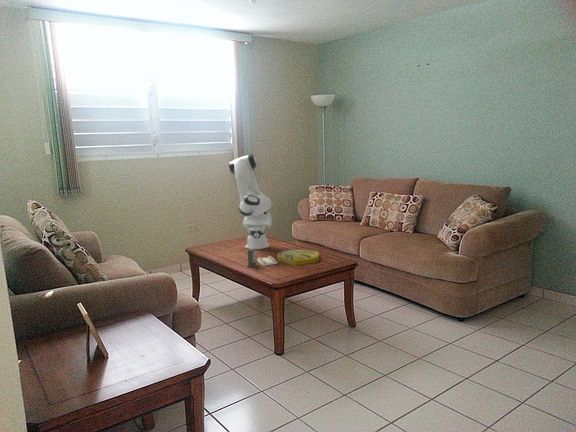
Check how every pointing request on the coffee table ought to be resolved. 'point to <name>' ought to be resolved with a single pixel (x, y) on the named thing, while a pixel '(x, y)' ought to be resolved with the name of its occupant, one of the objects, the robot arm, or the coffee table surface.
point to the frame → (251, 258)
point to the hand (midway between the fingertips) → (255, 231)
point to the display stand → (267, 260)
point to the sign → (298, 257)
